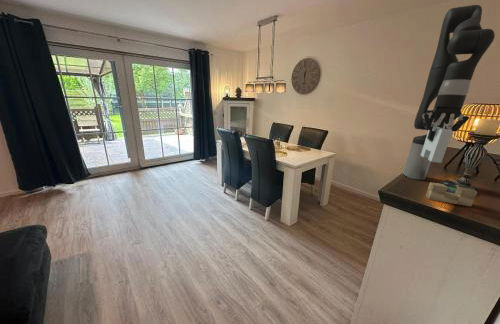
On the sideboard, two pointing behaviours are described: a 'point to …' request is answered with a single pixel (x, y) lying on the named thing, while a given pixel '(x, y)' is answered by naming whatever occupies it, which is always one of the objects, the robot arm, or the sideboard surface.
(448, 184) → the disk drive
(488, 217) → the sideboard surface
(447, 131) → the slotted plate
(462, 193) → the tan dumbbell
